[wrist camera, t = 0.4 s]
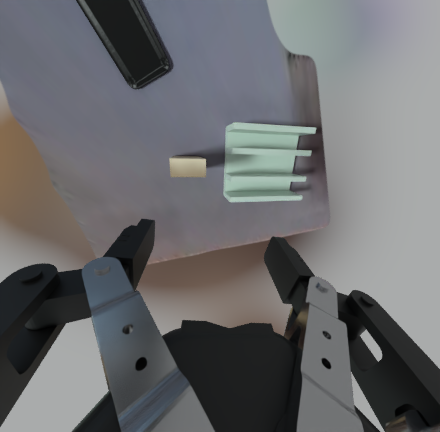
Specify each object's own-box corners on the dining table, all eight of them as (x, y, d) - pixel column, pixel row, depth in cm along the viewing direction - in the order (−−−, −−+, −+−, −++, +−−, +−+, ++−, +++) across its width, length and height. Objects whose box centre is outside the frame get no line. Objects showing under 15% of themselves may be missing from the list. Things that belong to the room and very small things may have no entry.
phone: (131, 90, 29) (55, -33, 22) (133, 92, 30) (61, -25, 23) (172, 66, 29) (106, -63, 22) (172, 69, 30) (110, -54, 23)
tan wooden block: (174, 155, 34) (169, 158, 23) (198, 156, 35) (205, 159, 24) (174, 168, 35) (170, 177, 24) (199, 168, 36) (205, 177, 25)
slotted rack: (225, 126, 34) (234, 122, 29) (296, 131, 37) (316, 127, 32) (223, 194, 39) (230, 202, 33) (286, 193, 42) (301, 200, 37)
